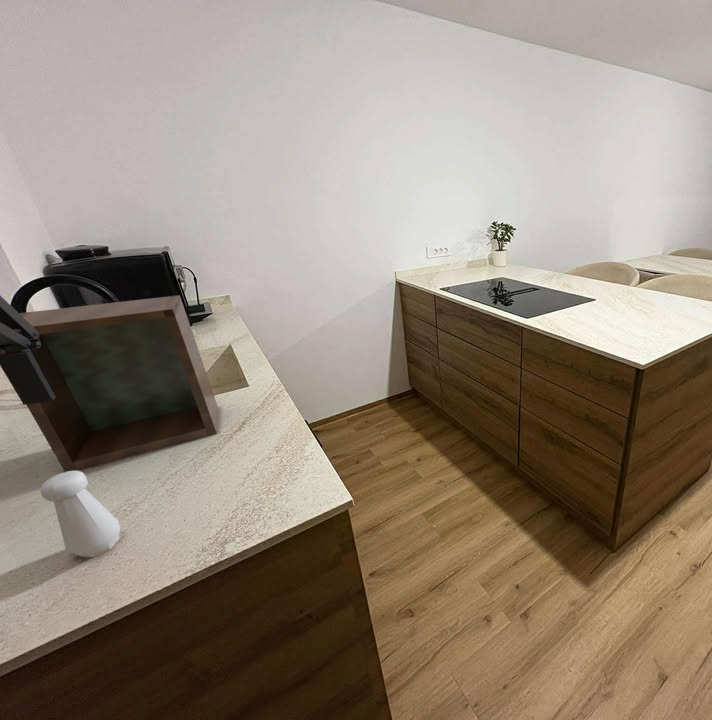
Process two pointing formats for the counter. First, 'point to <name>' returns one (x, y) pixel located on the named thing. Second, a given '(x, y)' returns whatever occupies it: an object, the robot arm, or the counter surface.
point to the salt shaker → (81, 515)
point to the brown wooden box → (120, 380)
